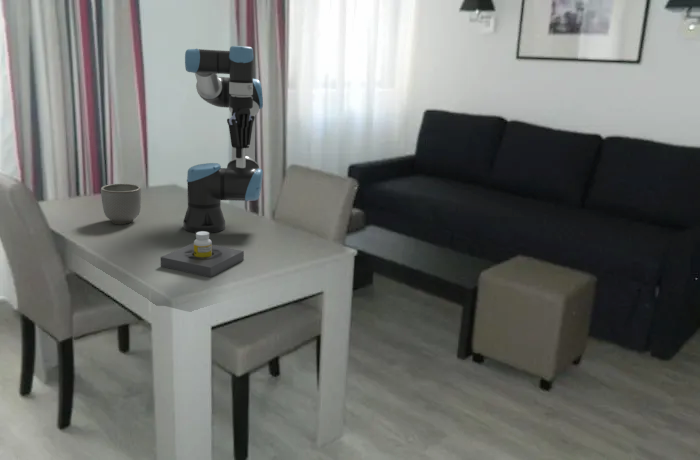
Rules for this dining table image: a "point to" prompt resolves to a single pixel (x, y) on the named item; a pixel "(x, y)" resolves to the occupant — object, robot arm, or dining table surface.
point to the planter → (121, 202)
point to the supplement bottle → (202, 245)
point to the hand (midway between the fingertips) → (240, 167)
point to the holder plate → (202, 260)
